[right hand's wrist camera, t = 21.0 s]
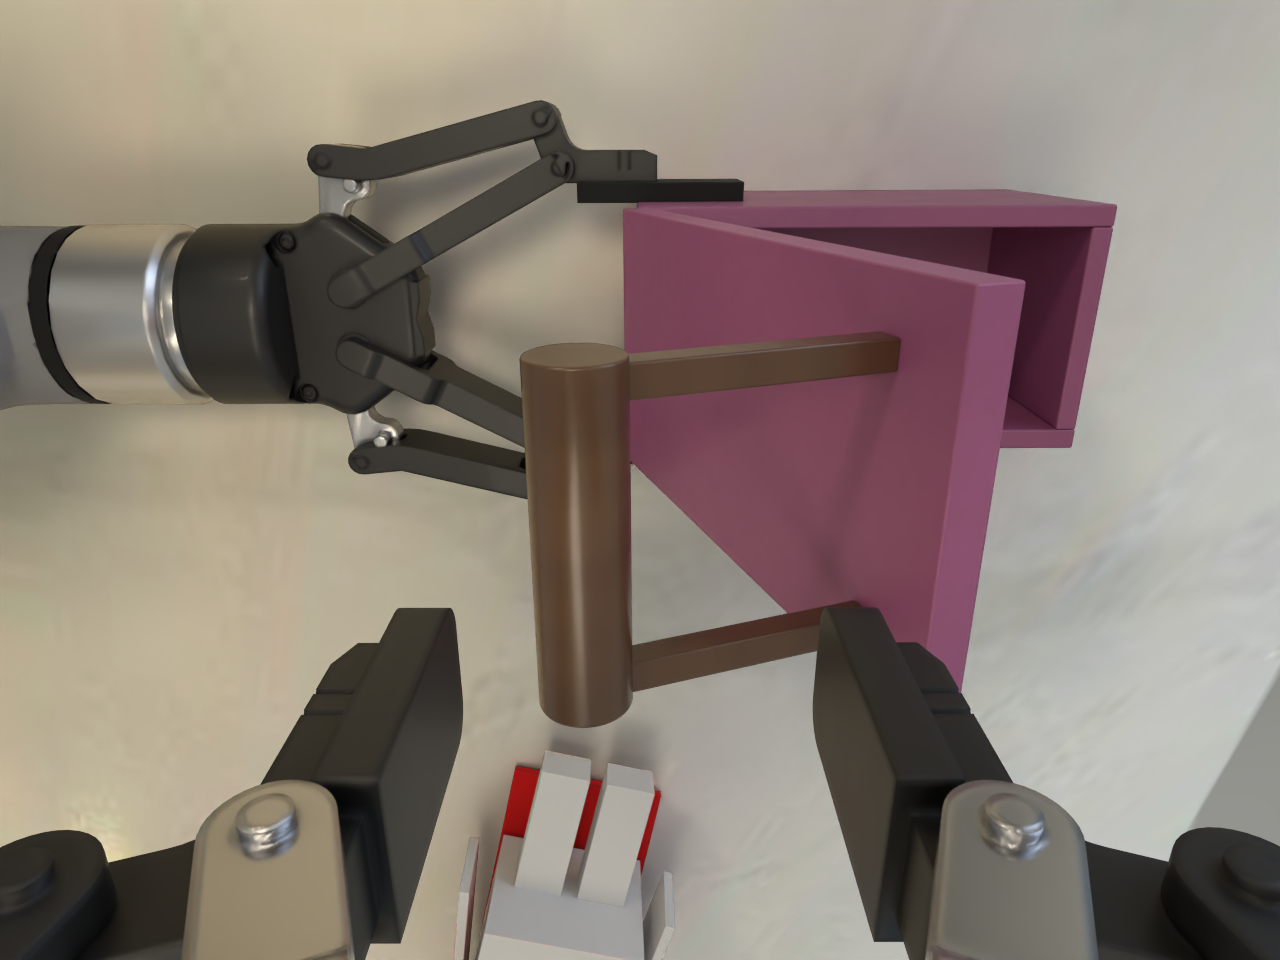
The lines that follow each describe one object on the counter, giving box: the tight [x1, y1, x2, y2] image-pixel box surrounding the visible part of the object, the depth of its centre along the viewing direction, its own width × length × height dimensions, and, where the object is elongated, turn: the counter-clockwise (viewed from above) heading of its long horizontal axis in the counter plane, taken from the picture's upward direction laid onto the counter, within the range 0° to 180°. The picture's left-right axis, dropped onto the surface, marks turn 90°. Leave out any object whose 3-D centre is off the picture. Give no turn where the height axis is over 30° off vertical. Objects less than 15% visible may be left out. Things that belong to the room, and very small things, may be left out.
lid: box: [520, 208, 1025, 728], centre depth 23 cm, size 18×9×8 cm
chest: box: [637, 190, 1117, 448], centre depth 38 cm, size 18×9×10 cm, turn 90°
